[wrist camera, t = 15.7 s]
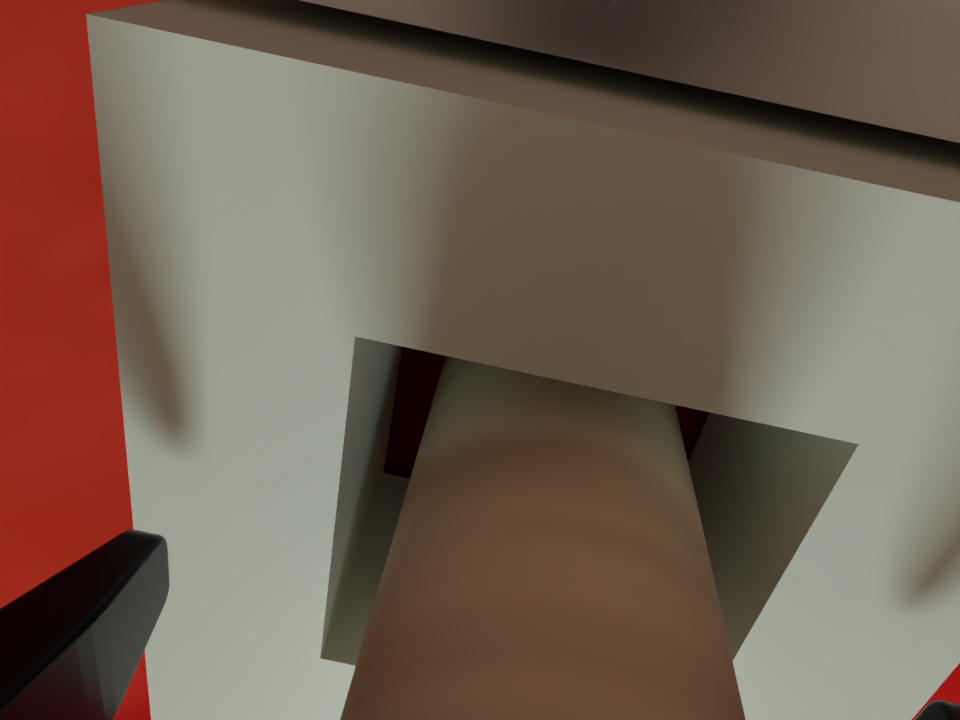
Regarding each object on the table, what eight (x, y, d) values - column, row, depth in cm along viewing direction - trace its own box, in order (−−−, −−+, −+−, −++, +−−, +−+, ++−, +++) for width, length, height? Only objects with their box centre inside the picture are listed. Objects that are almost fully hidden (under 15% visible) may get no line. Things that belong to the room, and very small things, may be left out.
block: (740, 644, 16) (792, 861, 12) (248, 540, 16) (152, 725, 12) (1028, 149, 10) (1288, 274, 6) (261, -17, 10) (85, 14, 6)
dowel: (628, 484, 14) (700, 1138, 7) (430, 442, 14) (264, 1047, 6) (697, 306, 12) (919, 957, 4) (465, 256, 12) (283, 821, 4)
